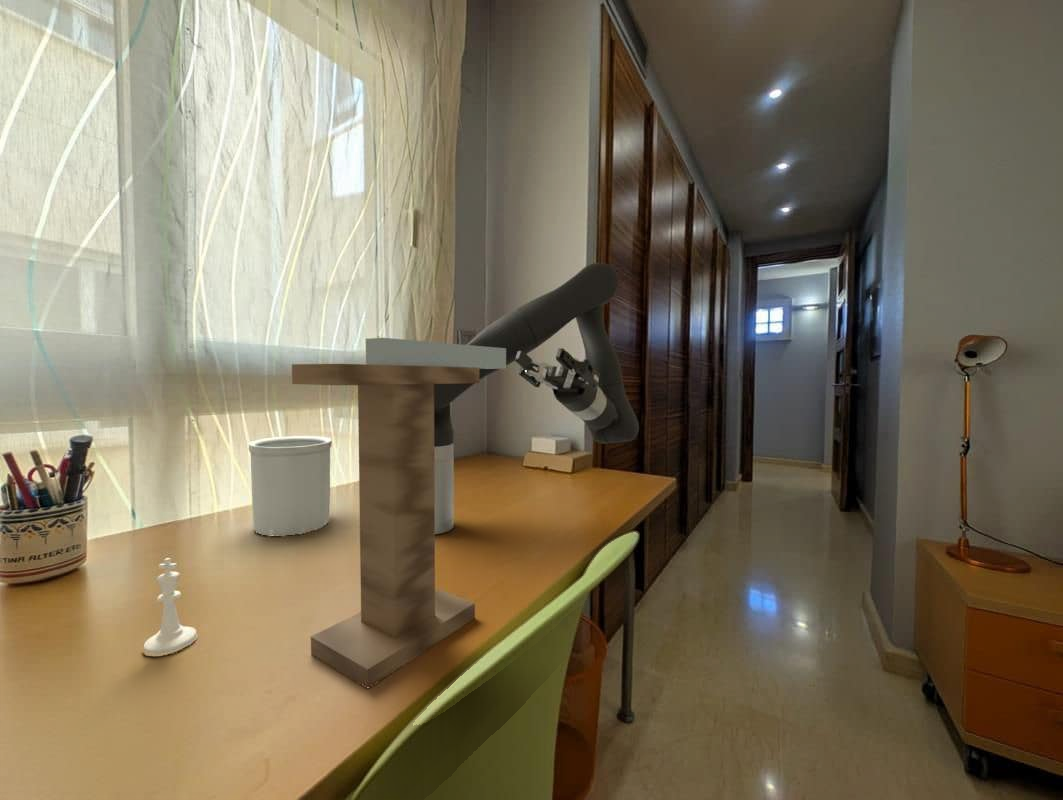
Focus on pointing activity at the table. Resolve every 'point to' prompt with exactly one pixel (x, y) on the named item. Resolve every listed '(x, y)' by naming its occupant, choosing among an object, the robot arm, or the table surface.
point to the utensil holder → (290, 484)
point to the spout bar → (432, 354)
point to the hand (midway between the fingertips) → (537, 354)
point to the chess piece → (169, 617)
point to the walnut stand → (392, 521)
